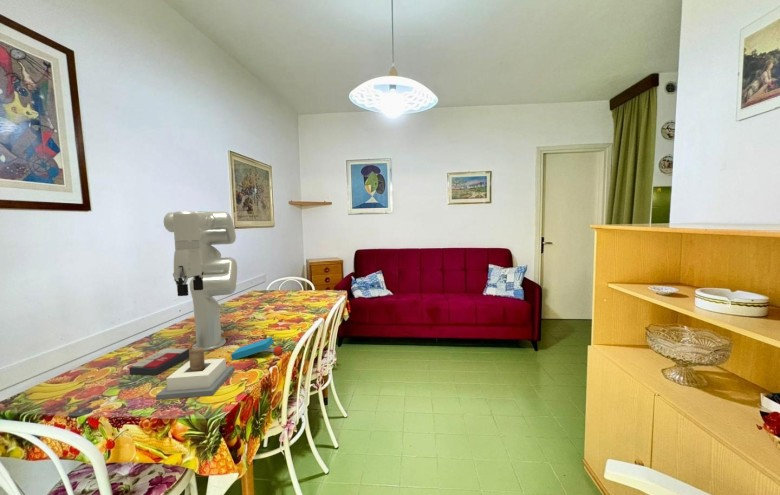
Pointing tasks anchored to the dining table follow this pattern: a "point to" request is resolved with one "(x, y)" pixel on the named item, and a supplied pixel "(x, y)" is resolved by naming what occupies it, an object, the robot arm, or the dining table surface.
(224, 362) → the socket block
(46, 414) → the dining table surface
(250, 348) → the lever
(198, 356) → the walnut peg
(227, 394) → the dining table surface
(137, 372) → the black red box
